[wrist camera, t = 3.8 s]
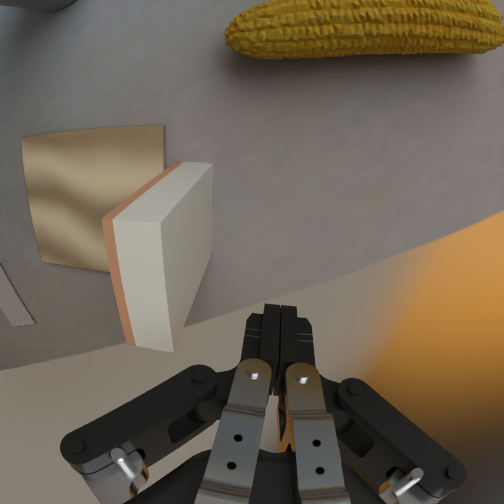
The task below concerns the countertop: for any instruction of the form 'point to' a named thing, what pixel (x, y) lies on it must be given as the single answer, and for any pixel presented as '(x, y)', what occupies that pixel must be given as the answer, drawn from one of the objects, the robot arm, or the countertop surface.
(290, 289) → the countertop surface
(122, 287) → the sponge
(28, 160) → the board
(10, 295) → the knife with black handle
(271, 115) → the countertop surface
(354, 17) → the food
